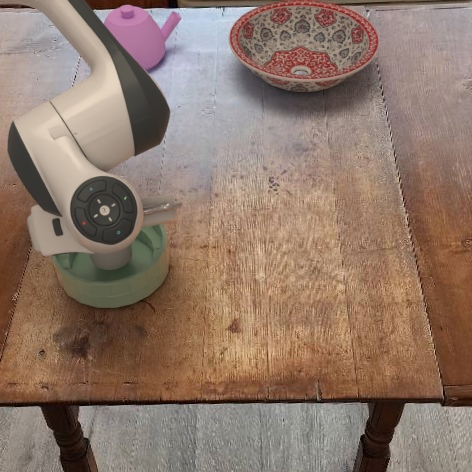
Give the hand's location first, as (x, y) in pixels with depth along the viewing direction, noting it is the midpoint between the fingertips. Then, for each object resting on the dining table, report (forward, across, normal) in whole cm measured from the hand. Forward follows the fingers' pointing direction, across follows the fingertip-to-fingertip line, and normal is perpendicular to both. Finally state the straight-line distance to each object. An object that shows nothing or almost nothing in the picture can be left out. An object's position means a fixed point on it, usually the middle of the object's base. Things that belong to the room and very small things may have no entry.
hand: (104, 223), depth 99 cm
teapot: (+47, -15, -34) cm, 60 cm away
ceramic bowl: (+36, -46, -23) cm, 63 cm away
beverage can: (+4, 0, +5) cm, 7 cm away
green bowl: (+6, 0, +7) cm, 9 cm away
